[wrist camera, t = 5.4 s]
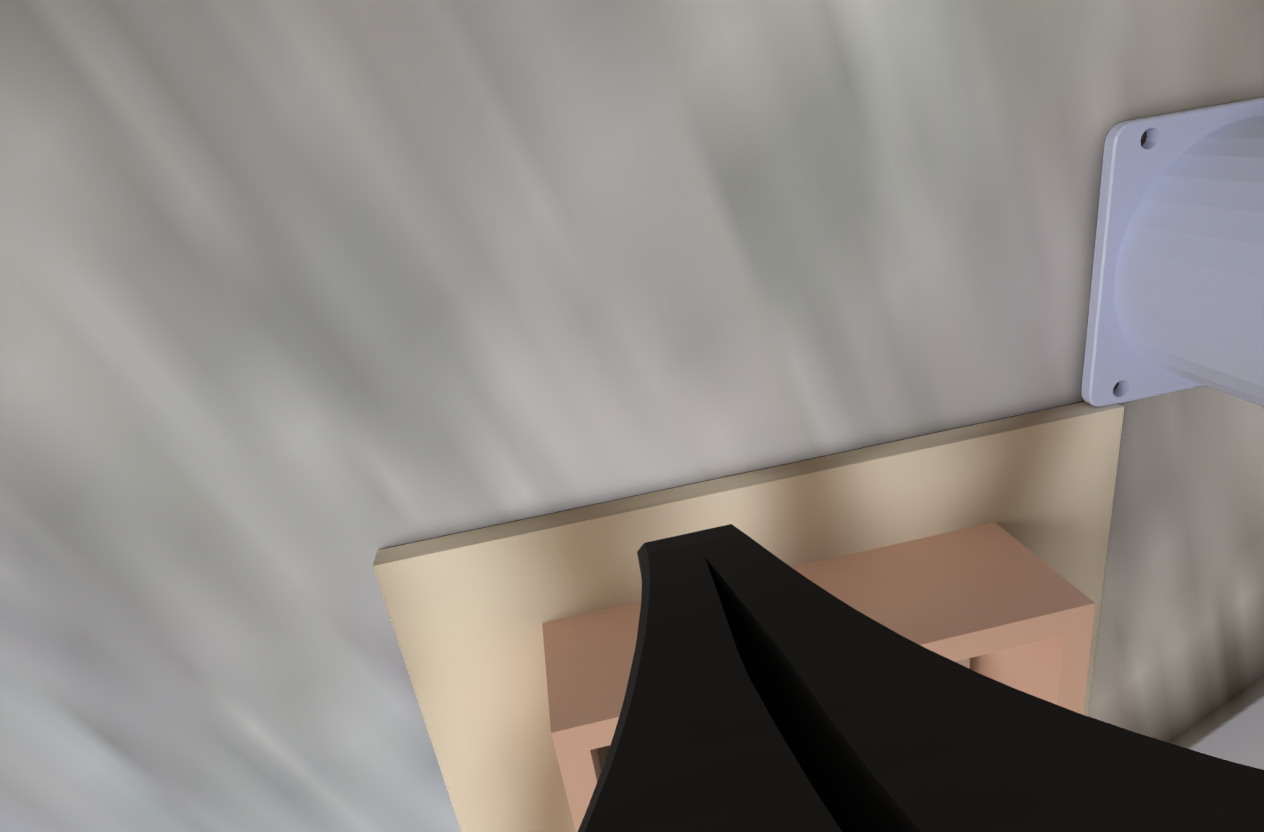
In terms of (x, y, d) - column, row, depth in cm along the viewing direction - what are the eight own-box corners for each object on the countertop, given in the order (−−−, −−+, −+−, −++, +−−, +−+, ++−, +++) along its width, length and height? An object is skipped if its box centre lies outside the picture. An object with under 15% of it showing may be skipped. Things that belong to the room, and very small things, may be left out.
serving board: (1104, 397, 23) (1124, 406, 22) (1056, 849, 30) (1069, 867, 30) (377, 550, 21) (373, 565, 20) (522, 994, 28) (523, 1017, 27)
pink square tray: (994, 521, 23) (1095, 603, 19) (978, 839, 28) (1055, 953, 24) (542, 623, 21) (551, 733, 18) (616, 936, 27) (635, 1073, 23)
